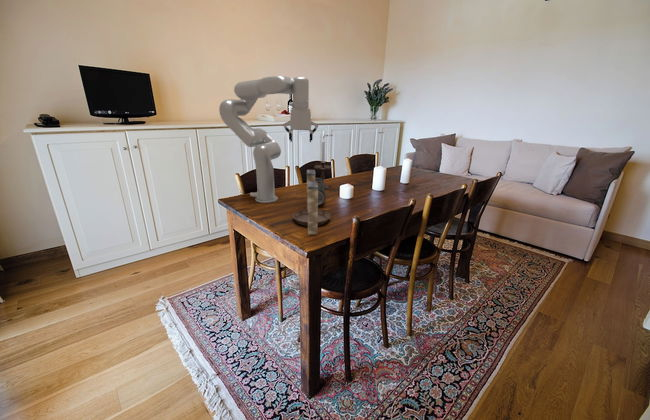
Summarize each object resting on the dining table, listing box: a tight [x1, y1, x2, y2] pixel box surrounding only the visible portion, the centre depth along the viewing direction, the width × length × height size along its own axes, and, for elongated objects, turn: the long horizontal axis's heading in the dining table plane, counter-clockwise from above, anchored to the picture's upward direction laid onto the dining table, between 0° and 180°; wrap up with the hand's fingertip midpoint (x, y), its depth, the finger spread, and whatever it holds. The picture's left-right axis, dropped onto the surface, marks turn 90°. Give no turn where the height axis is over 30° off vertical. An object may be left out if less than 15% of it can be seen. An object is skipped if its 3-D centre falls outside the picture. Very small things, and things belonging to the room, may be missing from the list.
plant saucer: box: [292, 208, 331, 227], centre depth 134 cm, size 18×18×3 cm
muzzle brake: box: [315, 176, 326, 206], centre depth 162 cm, size 10×28×10 cm, turn 1°
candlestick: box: [314, 133, 332, 191], centre depth 181 cm, size 11×11×35 cm
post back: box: [306, 169, 317, 209], centre depth 142 cm, size 4×8×21 cm, turn 4°
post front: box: [307, 182, 319, 236], centre depth 120 cm, size 4×8×21 cm, turn 4°
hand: (300, 141), depth 141 cm, fingers open, 9 cm apart
